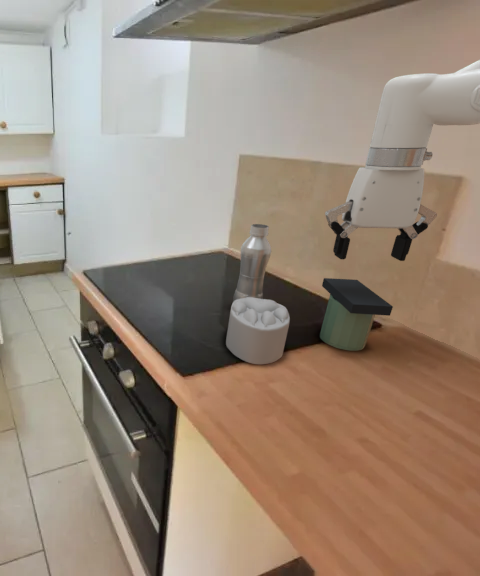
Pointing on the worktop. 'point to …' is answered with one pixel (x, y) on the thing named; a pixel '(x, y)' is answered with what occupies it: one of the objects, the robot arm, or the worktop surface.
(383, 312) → the dark blue flat block
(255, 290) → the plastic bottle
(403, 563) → the worktop surface
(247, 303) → the lumpy-topped squat cylinder
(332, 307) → the cup
